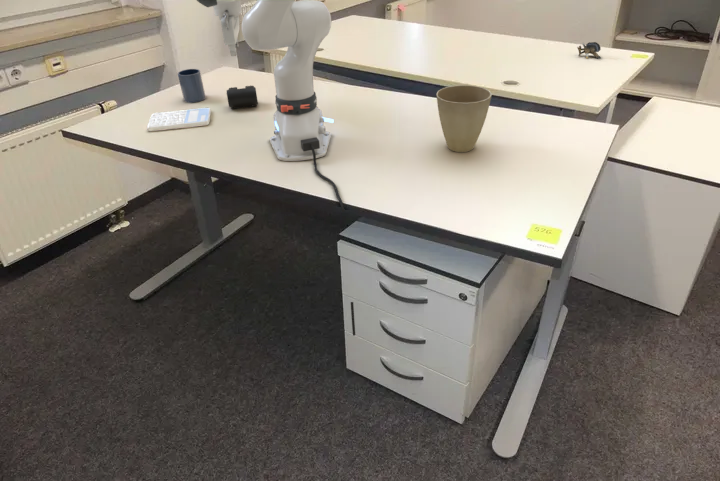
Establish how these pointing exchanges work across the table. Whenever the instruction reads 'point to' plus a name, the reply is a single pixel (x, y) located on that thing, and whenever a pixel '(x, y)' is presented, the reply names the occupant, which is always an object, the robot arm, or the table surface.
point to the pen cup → (191, 85)
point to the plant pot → (462, 114)
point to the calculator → (179, 119)
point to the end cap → (242, 97)
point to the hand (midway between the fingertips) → (235, 51)
